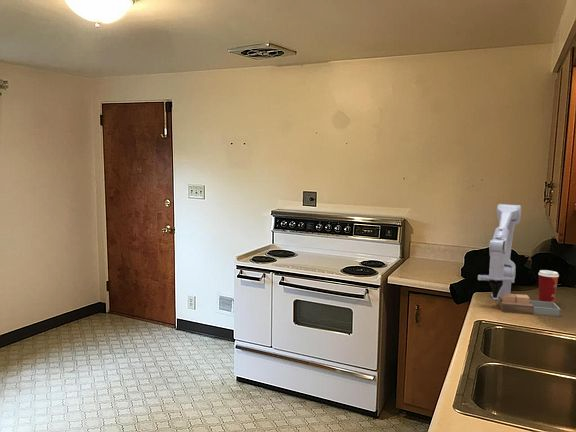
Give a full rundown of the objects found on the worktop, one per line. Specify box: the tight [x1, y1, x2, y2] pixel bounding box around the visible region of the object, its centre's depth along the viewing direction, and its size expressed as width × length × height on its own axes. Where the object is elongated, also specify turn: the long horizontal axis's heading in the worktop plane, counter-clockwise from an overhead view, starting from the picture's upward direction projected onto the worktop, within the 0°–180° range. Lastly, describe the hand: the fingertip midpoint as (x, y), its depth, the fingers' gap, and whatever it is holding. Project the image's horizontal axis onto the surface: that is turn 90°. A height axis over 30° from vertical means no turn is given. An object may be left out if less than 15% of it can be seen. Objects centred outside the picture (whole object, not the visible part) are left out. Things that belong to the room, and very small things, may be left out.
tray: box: [530, 299, 562, 317], centre depth 209 cm, size 11×10×3 cm
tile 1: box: [501, 293, 516, 303], centre depth 212 cm, size 5×5×2 cm
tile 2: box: [514, 293, 531, 304], centre depth 211 cm, size 5×5×2 cm
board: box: [497, 296, 534, 315], centre depth 212 cm, size 12×12×4 cm
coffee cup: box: [537, 269, 560, 303], centre depth 219 cm, size 8×8×15 cm
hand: (494, 297), depth 213 cm, fingers closed
